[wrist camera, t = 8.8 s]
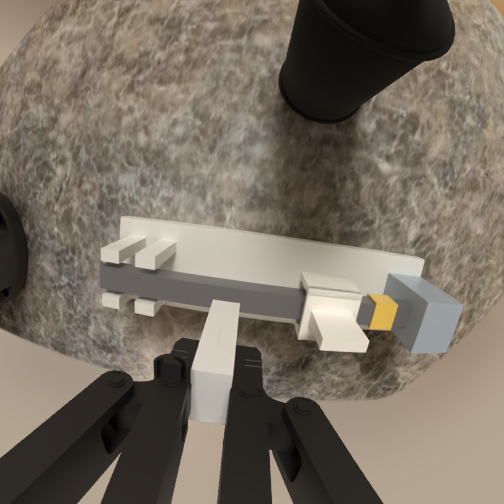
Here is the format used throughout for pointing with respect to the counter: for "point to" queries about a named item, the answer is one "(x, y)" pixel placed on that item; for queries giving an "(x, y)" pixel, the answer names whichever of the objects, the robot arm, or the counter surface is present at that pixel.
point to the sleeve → (330, 313)
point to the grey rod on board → (270, 278)
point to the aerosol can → (358, 51)
